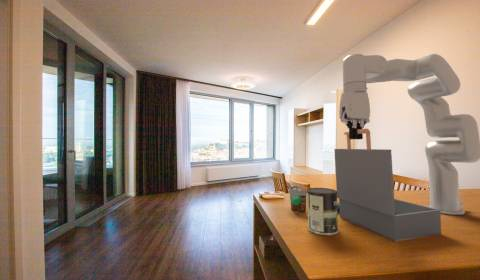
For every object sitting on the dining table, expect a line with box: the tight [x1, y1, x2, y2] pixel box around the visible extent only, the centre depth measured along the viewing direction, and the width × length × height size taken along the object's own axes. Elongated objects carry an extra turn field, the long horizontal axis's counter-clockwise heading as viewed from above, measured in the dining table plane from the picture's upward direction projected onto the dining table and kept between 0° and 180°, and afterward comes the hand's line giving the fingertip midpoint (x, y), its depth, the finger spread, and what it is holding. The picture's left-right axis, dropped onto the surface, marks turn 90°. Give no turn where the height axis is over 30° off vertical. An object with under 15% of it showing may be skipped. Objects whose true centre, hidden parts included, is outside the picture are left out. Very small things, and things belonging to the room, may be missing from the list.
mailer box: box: [338, 198, 442, 243], centre depth 80 cm, size 20×24×8 cm
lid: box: [334, 128, 395, 216], centre depth 78 cm, size 28×25×2 cm
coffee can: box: [306, 187, 339, 236], centre depth 77 cm, size 10×10×14 cm
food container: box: [288, 185, 307, 213], centre depth 100 cm, size 12×6×10 cm, turn 5°
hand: (355, 138), depth 78 cm, fingers closed on lid
